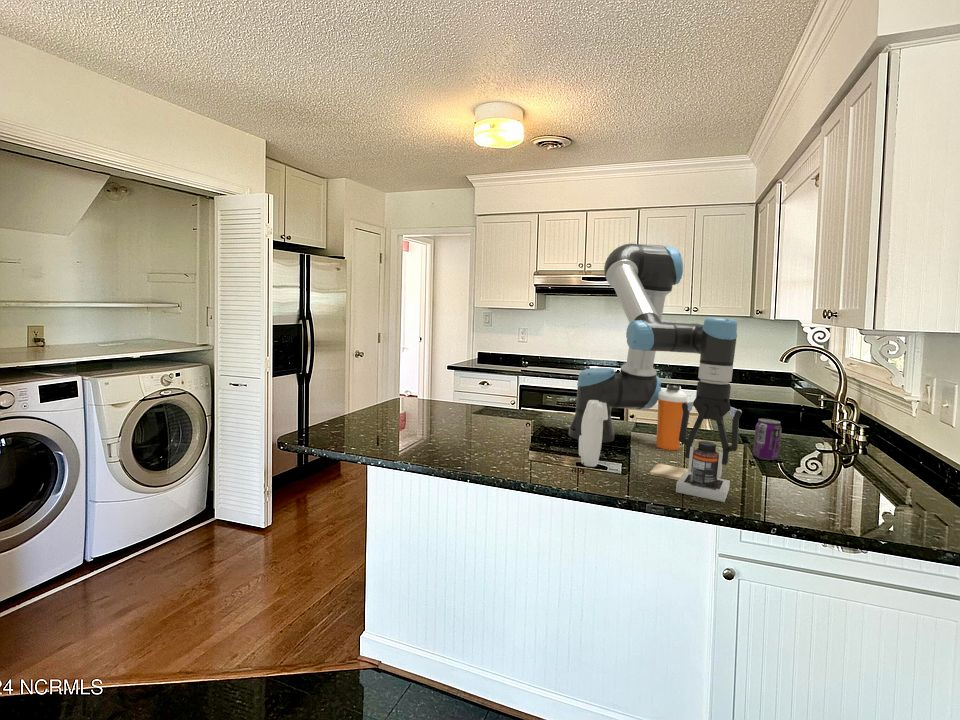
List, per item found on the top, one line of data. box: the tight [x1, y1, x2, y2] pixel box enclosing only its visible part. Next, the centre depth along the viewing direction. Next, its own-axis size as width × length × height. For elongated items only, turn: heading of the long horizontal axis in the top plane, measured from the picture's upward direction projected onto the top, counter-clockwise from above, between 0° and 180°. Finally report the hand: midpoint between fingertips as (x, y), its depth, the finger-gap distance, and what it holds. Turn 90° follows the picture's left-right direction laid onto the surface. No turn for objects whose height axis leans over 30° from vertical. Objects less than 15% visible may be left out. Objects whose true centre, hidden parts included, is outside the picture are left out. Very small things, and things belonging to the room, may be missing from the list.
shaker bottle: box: [655, 384, 688, 451], centre depth 180 cm, size 9×9×20 cm
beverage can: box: [752, 418, 782, 461], centre depth 173 cm, size 7×7×12 cm
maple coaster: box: [649, 463, 692, 481], centre depth 151 cm, size 10×10×1 cm
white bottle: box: [578, 400, 608, 468], centre depth 154 cm, size 7×18×7 cm
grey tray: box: [675, 472, 731, 503], centre depth 138 cm, size 11×11×2 cm
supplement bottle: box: [691, 440, 719, 489], centre depth 137 cm, size 6×6×11 cm
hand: (704, 473), depth 138 cm, fingers closed on supplement bottle, 6 cm apart
